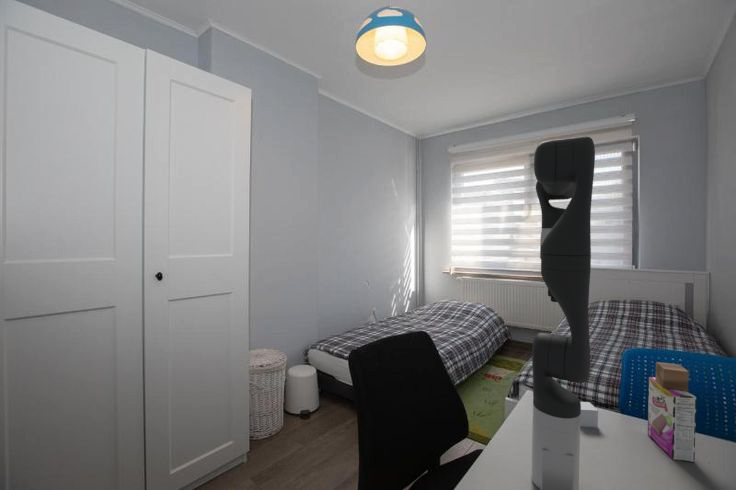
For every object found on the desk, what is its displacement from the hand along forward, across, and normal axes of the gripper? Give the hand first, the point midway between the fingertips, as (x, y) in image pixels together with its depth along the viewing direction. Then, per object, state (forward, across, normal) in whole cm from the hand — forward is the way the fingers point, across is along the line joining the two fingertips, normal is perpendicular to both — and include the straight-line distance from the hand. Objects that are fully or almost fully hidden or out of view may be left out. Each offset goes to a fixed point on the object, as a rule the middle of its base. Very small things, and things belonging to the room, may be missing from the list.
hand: (553, 299), depth 103 cm
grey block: (+36, -2, +9) cm, 37 cm away
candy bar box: (+36, +4, +27) cm, 45 cm away
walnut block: (+20, +4, +27) cm, 34 cm away
